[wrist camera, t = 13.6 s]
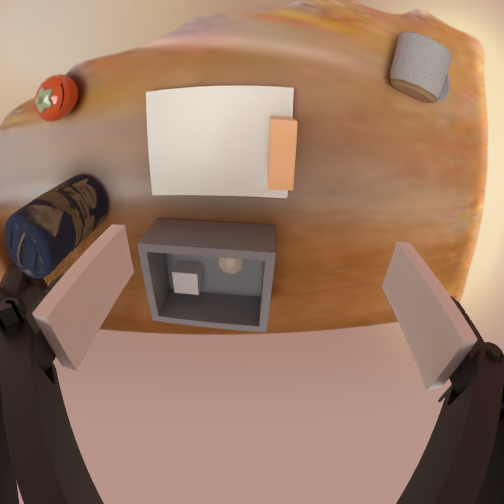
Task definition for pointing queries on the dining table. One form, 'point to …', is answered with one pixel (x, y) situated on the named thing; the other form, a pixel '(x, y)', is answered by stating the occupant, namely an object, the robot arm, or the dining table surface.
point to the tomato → (56, 97)
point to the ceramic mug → (421, 67)
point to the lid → (222, 141)
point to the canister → (54, 225)
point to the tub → (209, 273)
